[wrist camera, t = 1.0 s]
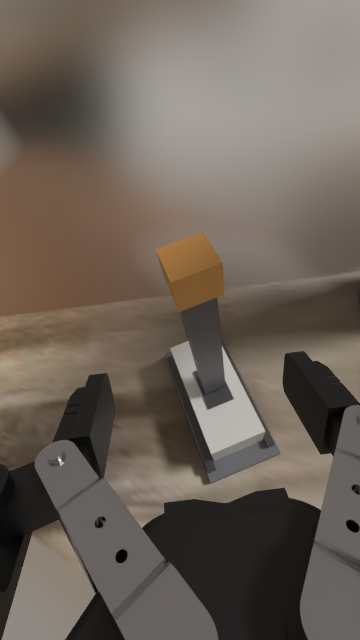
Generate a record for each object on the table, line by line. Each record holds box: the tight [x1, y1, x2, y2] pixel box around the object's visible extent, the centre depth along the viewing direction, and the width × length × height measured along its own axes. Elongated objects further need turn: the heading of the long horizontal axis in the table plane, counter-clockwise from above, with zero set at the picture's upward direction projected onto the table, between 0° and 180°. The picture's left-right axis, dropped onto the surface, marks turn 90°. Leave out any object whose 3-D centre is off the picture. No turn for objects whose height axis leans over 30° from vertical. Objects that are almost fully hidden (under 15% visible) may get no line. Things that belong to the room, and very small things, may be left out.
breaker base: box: [164, 338, 280, 483], centre depth 39 cm, size 18×9×6 cm, turn 20°
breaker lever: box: [156, 232, 226, 394], centre depth 27 cm, size 3×3×21 cm
